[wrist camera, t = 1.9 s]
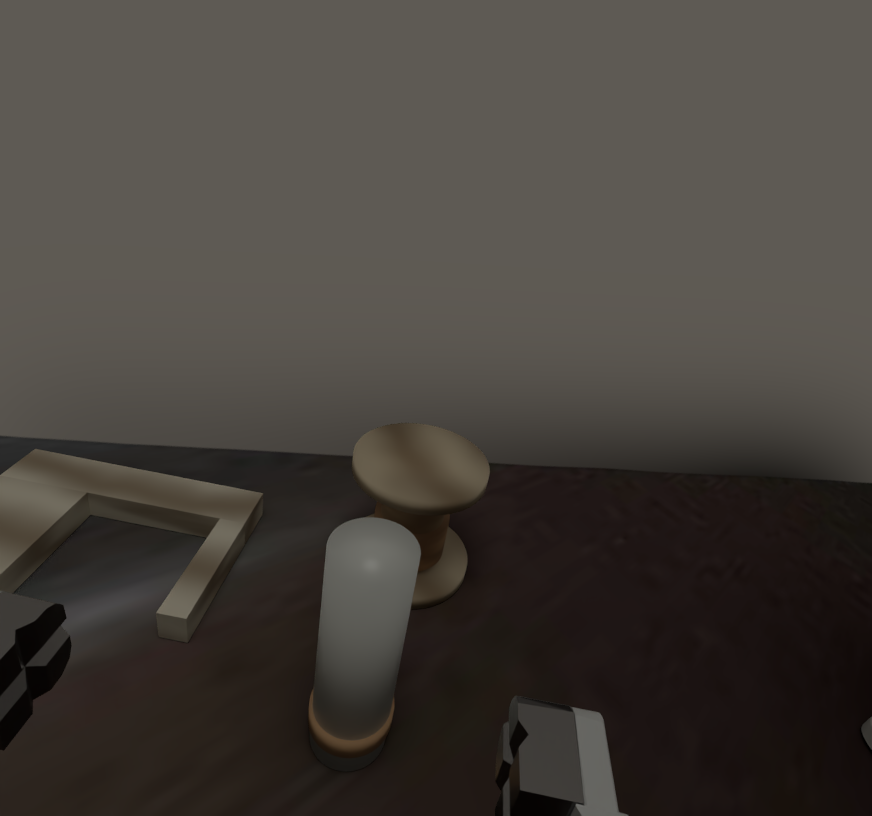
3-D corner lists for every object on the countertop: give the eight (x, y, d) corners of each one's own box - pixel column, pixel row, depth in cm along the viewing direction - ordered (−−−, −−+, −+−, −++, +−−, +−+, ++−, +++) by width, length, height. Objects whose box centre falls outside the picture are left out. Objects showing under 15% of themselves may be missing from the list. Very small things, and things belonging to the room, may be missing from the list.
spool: (417, 507, 49) (434, 413, 44) (490, 578, 43) (517, 478, 39) (319, 542, 43) (327, 439, 39) (387, 629, 37) (405, 519, 33)
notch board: (39, 470, 45) (35, 449, 44) (262, 514, 45) (263, 493, 44) (-103, 584, 35) (-112, 559, 34) (187, 642, 34) (186, 618, 33)
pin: (361, 682, 34) (388, 504, 28) (404, 745, 31) (444, 562, 25) (292, 720, 31) (304, 533, 25) (332, 792, 29) (356, 601, 22)
